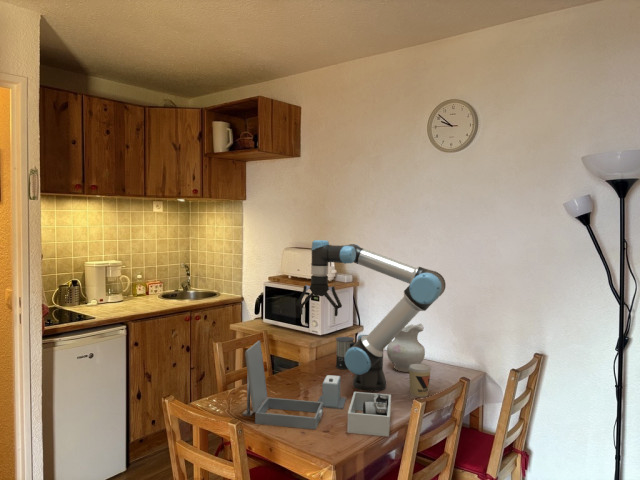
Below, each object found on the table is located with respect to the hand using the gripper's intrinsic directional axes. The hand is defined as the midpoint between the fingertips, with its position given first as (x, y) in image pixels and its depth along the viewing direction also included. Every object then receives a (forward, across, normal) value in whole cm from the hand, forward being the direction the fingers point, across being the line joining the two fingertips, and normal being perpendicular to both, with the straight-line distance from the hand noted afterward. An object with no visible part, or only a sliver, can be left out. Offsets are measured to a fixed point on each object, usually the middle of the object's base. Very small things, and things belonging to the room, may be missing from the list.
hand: (318, 322), depth 210 cm
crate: (+29, -24, +32) cm, 50 cm away
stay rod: (+29, +22, +33) cm, 49 cm away
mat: (+29, -8, +16) cm, 34 cm away
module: (+29, -8, +16) cm, 34 cm away
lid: (+14, +19, +33) cm, 40 cm away
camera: (+30, -26, +30) cm, 50 cm away
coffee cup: (+30, -45, -1) cm, 54 cm away
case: (+29, +6, +33) cm, 45 cm away
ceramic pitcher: (+30, -40, -37) cm, 61 cm away
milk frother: (+30, -12, -36) cm, 48 cm away
